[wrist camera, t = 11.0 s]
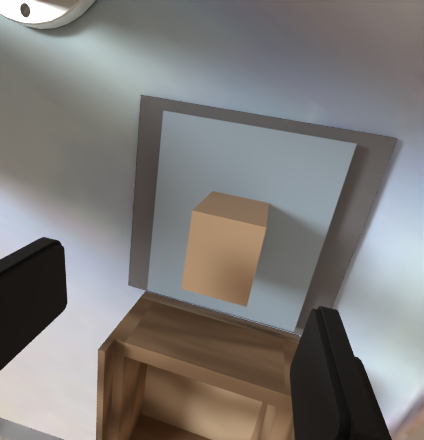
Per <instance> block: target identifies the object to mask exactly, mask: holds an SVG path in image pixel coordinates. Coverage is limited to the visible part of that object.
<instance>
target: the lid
mask: <svg viewBox="0 0 424 440" xmlns="http://www.w3.org/2000/svg"><path fill="white" fill-rule="evenodd" d="M356 145H357V144H356V143H350V142H344V141H338V140H332V139H326V138H320V137H315V136H309V135H303V134H297V133H291V132H285V131H280V130H274V129H268V128H262V127H256V126H250V125H245V124H239V123H233V122H227V121H221V120H215V119H210V118H204V117H198V116H192V115H186V114H180V113H175V112H169V111H163V121H162V132H161V143H160V154H159V165H158V176H157V187H156V198H155V209H154V220H153V231H152V242H151V253H150V264H149V275H148V286H147V290H148V291H151V292H155V293H158V294H162V295H165V296H169V297H172V298H176V299H179V300H183V301H186V302H190V303H193V304H197V305H201V306H204V307H208V308H211V309H215V310H218V311H222V312H225V313H229V314H232V315H236V316H239V317H243V318H246V319H250V320H253V321H257V322H260V323H264V324H267V325H271V326H275V327H278V328H282V329H285V330H289V331H292V332H294V330H295V327H296V324H297V321H298V318H299V315H300V312H301V309H302V306H303V303H304V300H305V297H306V294H307V291H308V288H309V285H310V282H311V279H312V276H313V273H314V270H315V267H316V264H317V261H318V258H319V255H320V252H321V249H322V246H323V243H324V241H325V238H326V235H327V232H328V229H329V226H330V223H331V220H332V217H333V214H334V211H335V208H336V205H337V202H338V199H339V196H340V193H341V190H342V187H343V184H344V181H345V178H346V175H347V172H348V169H349V166H350V163H351V160H352V157H353V154H354V151H355V148H356Z"/></svg>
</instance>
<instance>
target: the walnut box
mask: <svg viewBox="0 0 424 440" xmlns="http://www.w3.org/2000/svg"><path fill="white" fill-rule="evenodd" d="M298 344H299V335H295V334H292V333H288V332H285V331H281V330H278V329H274V328H271V327H268V326H264V325H261V324H257V323H254V322H250V321H247V320H243V319H240V318H236V317H233V316H229V315H226V314H223V313H219V312H216V311H212V310H209V309H205V308H202V307H198V306H195V305H191V304H188V303H184V302H181V301H177V300H174V299H171V298H167V297H164V296H160V295H157V294H153V293H150V292H146V291H145V293H144V294H143V295H142V296H141V297H140V299H139V300H138V301H137V302H136V304H135V305H134V306H133V307H132V309H131V310H130V311H129V312H128V313H127V315H126V316H125V317H124V318H123V320H122V321H121V322H120V323H119V325H118V326H117V327H116V328H115V330H114V331H113V332H112V333H111V334H110V336H109V337H108V338H107V339H106V341H105V342H104V343H103V344H102V346H101V347H100V348H99V349H98V379H97V422H96V440H295V435H294V423H293V411H292V398H291V386H290V366H291V363H292V360H293V357H294V355H295V352H296V349H297V347H298Z"/></svg>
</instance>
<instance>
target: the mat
mask: <svg viewBox="0 0 424 440" xmlns="http://www.w3.org/2000/svg"><path fill="white" fill-rule="evenodd" d="M163 111H169V112H175V113H180V114H186V115H192V116H198V117H204V118H210V119H215V120H221V121H227V122H233V123H239V124H245V125H250V126H256V127H262V128H268V129H274V130H280V131H285V132H291V133H297V134H303V135H309V136H315V137H320V138H326V139H332V140H338V141H344V142H350V143H356V144H357V145H356V148H355V151H354V154H353V157H352V160H351V163H350V166H349V169H348V172H347V175H346V178H345V181H344V184H343V187H342V190H341V193H340V196H339V199H338V202H337V205H336V208H335V211H334V214H333V217H332V220H331V223H330V226H329V229H328V232H327V235H326V238H325V241H324V243H323V246H322V249H321V252H320V255H319V258H318V261H317V264H316V267H315V270H314V273H313V276H312V279H311V282H310V285H309V288H308V291H307V294H306V297H305V300H304V303H303V306H302V309H301V312H300V315H299V318H298V321H297V324H296V327H295V330H294V332H292V331H289V330H285V329H282V328H278V327H275V326H271V325H268V326H271V327H275V328H278V329H282V330H285V331H289V332H292V333H296V334H299V335H302V333H303V331H304V328H305V325H306V323H307V320H308V317H309V315H310V312H311V310H312V309H317V308H318V307H319V306H323V307H327V308H331V309H332V306H333V304H334V301H335V299H336V296H337V293H338V291H339V288H340V286H341V283H342V280H343V278H344V275H345V273H346V270H347V268H348V265H349V262H350V260H351V257H352V255H353V252H354V250H355V247H356V244H357V242H358V239H359V237H360V234H361V231H362V229H363V226H364V224H365V221H366V219H367V216H368V213H369V211H370V208H371V206H372V203H373V201H374V198H375V195H376V193H377V190H378V188H379V185H380V182H381V180H382V177H383V175H384V172H385V170H386V167H387V164H388V162H389V159H390V157H391V154H392V151H393V149H394V146H395V144H396V141H397V139H398V138H394V137H388V136H382V135H376V134H370V133H364V132H358V131H352V130H346V129H340V128H334V127H329V126H323V125H317V124H311V123H305V122H299V121H293V120H287V119H281V118H275V117H269V116H263V115H257V114H252V113H246V112H240V111H234V110H228V109H222V108H216V107H210V106H204V105H198V104H192V103H186V102H181V101H175V100H169V99H163V98H157V97H151V96H145V95H141V102H140V117H139V132H138V147H137V162H136V177H135V192H134V207H133V222H132V237H131V252H130V267H129V282H128V285H129V286H132V287H136V288H139V289H143V290H146V291H148V290H147V286H148V275H149V264H150V253H151V242H152V231H153V220H154V209H155V198H156V187H157V176H158V165H159V154H160V143H161V132H162V121H163ZM150 292H151V291H150ZM153 293H155V292H153ZM157 294H158V293H157ZM160 295H162V294H160ZM164 296H165V295H164ZM167 297H169V296H167ZM171 298H172V297H171ZM174 299H176V298H174ZM177 300H179V299H177ZM181 301H183V300H181ZM184 302H186V301H184ZM188 303H190V302H188ZM191 304H193V303H191ZM195 305H197V304H195ZM198 306H201V305H198ZM202 307H204V306H202ZM205 308H208V307H205ZM209 309H211V308H209ZM212 310H215V309H212ZM216 311H218V310H216ZM219 312H222V311H219ZM223 313H225V312H223ZM226 314H229V313H226ZM230 315H232V314H230ZM233 316H236V315H233ZM236 317H239V316H236ZM240 318H243V317H240ZM243 319H246V318H243ZM247 320H250V319H247ZM250 321H253V320H250ZM254 322H257V321H254ZM257 323H260V322H257ZM261 324H264V323H261ZM264 325H267V324H264Z"/></svg>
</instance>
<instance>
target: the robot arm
mask: <svg viewBox="0 0 424 440" xmlns="http://www.w3.org/2000/svg"><path fill="white" fill-rule="evenodd" d="M94 1H95V0H0V14H1V15H3V16H4V17H6V18H8V19H10V20H12V21H14V22H17V23H19V24H22V25H24V26H28V27H33V28H38V29H50V28H57V27H60V26H63V25H66V24H69V23H70V22H72V21H73V20H75V19H76V18H78V17H80V16H81V15H82V14H83V13H84V12H85V11H86V10H87V9H88V8H89V7H90V6H91V5H92V4H93V3H94ZM66 305H67V288H66V271H65V254H64V247H63V246H62V245H61V243H60V241H58V240H54V239H50V238H46V237H43V238H40V239H38V240H36V241H34V242H32V243H30V244H29V245H27V246H25V247H23V248H21V249H19V250H17V251H15V252H14V253H12V254H10V255H8V256H6V257H4V258H2V259H0V370H2V369H3V368H4V367H5V366H6V365H7V364H8V363H9V362H10V361H11V360H12V359H13V358H14V357H15V356H16V355H17V354H18V353H20V352H21V351H22V350H23V349H24V348H25V347H26V346H27V345H28V344H29V343H30V342H31V341H32V340H33V339H34V338H35V337H36V336H37V335H39V334H40V333H41V332H42V331H43V330H44V329H45V328H46V327H47V326H48V325H49V324H50V323H51V322H52V321H53V320H54V319H55V318H57V317H58V316H59V315H60V314H61V313H62V312H63V311H64V309H65V308H66ZM290 386H291V398H292V411H293V423H294V435H295V440H392V439H391V436H390V434H389V431H388V429H387V426H386V423H385V421H384V418H383V415H382V413H381V410H380V408H379V405H378V402H377V400H376V397H375V394H374V392H373V389H372V387H371V384H370V381H369V379H368V376H367V373H366V371H365V368H364V366H363V363H362V361H361V360H360V359H359V358H358V357H354V354H353V351H352V348H351V346H350V343H349V340H348V337H347V334H346V332H345V329H344V326H343V323H342V320H341V318H340V315H339V312H338V311H337V310H335V309H331V308H327V307H323V306H319V307H318V308H317V309H312V310H311V312H310V315H309V317H308V320H307V323H306V325H305V328H304V331H303V333H302V336H301V339H300V341H299V344H298V347H297V349H296V352H295V355H294V357H293V360H292V363H291V366H290ZM0 440H63V439H61V438H58V437H55V436H52V435H49V434H46V433H43V432H40V431H37V430H34V429H32V428H29V427H26V426H23V425H20V424H17V423H14V422H11V421H8V420H5V419H2V418H0Z"/></svg>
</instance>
